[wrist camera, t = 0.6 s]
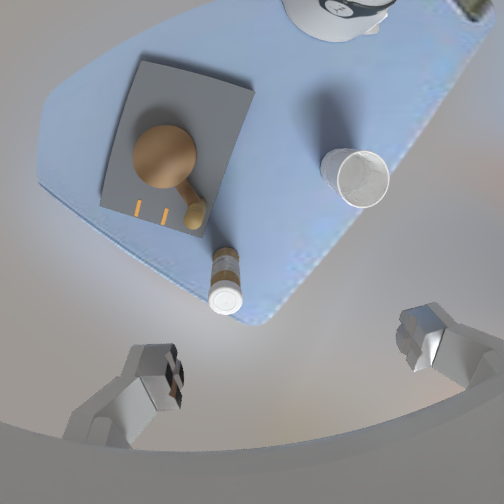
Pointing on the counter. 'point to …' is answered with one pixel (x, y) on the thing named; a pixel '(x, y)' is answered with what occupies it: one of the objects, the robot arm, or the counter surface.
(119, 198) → the stand
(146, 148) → the dial
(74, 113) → the counter surface
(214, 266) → the sprinkles bottle
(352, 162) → the white cup
